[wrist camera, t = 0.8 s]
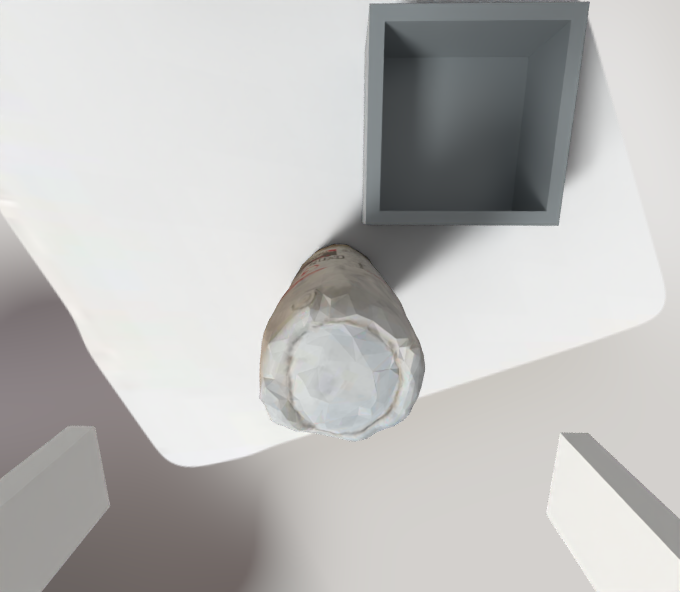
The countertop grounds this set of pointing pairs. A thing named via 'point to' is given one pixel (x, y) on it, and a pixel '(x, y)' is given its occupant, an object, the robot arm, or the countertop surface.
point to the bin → (469, 111)
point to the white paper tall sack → (339, 351)
